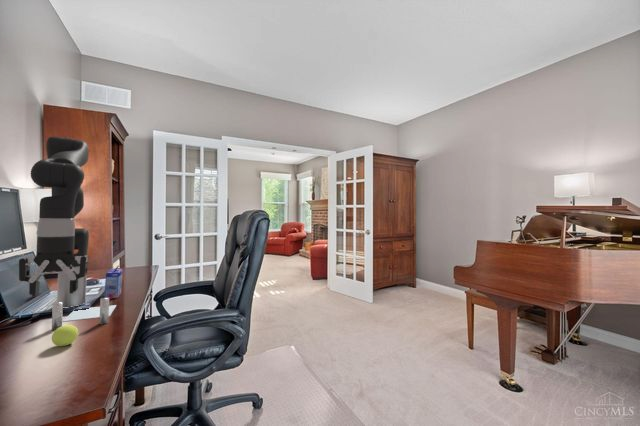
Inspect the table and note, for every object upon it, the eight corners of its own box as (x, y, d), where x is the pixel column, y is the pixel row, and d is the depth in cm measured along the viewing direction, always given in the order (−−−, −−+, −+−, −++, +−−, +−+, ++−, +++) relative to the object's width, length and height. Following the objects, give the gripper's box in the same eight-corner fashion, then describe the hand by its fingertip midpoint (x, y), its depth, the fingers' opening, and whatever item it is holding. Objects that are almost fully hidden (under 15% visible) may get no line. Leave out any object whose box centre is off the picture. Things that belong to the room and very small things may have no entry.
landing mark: (75, 309, 114) (75, 309, 114) (116, 305, 120) (116, 304, 120) (62, 321, 101) (62, 321, 101) (109, 316, 108) (109, 315, 108)
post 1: (53, 327, 96) (54, 302, 96) (63, 326, 97) (64, 301, 97) (50, 330, 93) (51, 304, 93) (60, 329, 95) (61, 303, 95)
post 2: (100, 322, 102) (101, 297, 102) (109, 321, 103) (110, 297, 103) (98, 324, 99) (99, 299, 99) (107, 323, 101) (108, 299, 101)
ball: (55, 342, 85) (56, 323, 85) (80, 339, 88) (81, 320, 88) (47, 351, 80) (48, 330, 80) (74, 347, 83) (75, 327, 83)
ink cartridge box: (118, 298, 130) (119, 267, 130) (103, 299, 128) (105, 268, 128) (122, 292, 139) (123, 264, 139) (108, 293, 136) (109, 264, 136)
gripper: (93, 233, 82) (91, 288, 82) (27, 233, 76) (25, 293, 76) (85, 235, 76) (83, 295, 76) (12, 235, 69) (10, 301, 69)
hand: (54, 294), depth 76 cm, fingers open, 7 cm apart
